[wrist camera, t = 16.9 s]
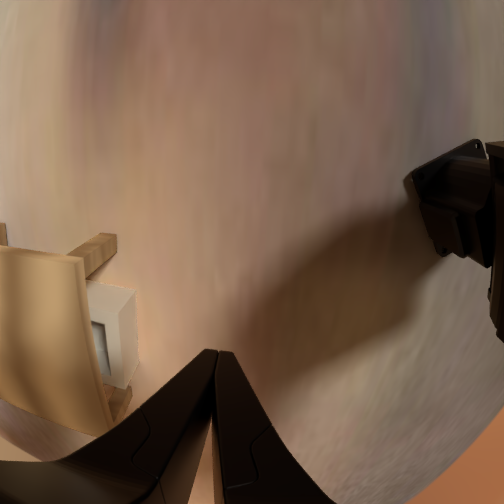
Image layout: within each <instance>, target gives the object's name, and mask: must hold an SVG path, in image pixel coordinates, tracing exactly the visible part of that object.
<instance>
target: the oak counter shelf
mask: <svg viewBox="0 0 504 504" xmlns="http://www.w3.org/2000/svg"><path fill="white" fill-rule="evenodd" d="M116 252H117V237H116V234H107V233H100V234H98V235H97V236H95V237H93V238H92V239H90V240H89V241H87V242H85V243H84V244H82V245H81V246H79V247H78V248H76V249H75V250H73V251H71V252H70V253H68V254H67V255H60V254H54V253H47V252H40V251H34V250H27V249H21V248H14V247H8V246H7V238H6V228H5V223H0V398H1V399H2V400H4V401H6V402H9V403H11V404H13V405H15V406H17V407H19V408H21V409H23V410H26V411H28V412H30V413H32V414H35V415H37V416H39V417H42V418H44V419H47V420H49V421H52V422H54V423H57V424H60V425H62V426H65V427H68V428H70V429H73V430H76V431H79V432H82V433H85V434H88V435H91V436H94V437H100V436H101V435H103V434H104V433H106V432H107V431H109V430H110V429H112V428H113V427H115V426H116V425H118V424H119V423H120V422H121V421H122V419H123V416H124V414H125V412H126V410H127V407H128V405H129V403H130V400H131V398H132V390H131V386H127V388H126V390H125V389H121V388H117V387H116V388H115V390H114V392H113V394H112V396H111V398H110V400H109V402H108V401H107V398H106V394H105V390H104V385H103V381H102V377H101V372H100V368H99V363H98V358H97V353H96V348H95V343H94V337H93V332H92V326H91V319H90V313H89V305H88V298H87V290H86V281H85V278H87V277H88V276H89V275H90V274H91V273H92V272H93V271H95V270H96V269H97V268H98V267H99V266H101V265H102V264H103V263H104V262H105V261H107V260H108V259H109V258H110V257H111V256H113V255H114V254H115V253H116Z"/></svg>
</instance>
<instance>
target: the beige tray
mask: <svg viewBox="0 0 504 504" xmlns="http://www.w3.org/2000/svg"><path fill="white" fill-rule="evenodd" d="M85 281H86V290H87V298H88V305H89V313H90V319H91V326H92V332H93V337H94V343H95V348H96V353H97V358H98V363H99V368H100V372H101V377H102V381H103V384H107V385H110V386H114V387H117V388H121V389H125V390H126V388H127V386H128V384H129V382H130V380H131V378H132V376H133V374H134V372H135V370H136V368H137V366H138V363H139V349H138V328H137V289H131V288H126V287H121V286H116V285H111V284H106V283H101V282H96V281H91V280H86V279H85Z"/></svg>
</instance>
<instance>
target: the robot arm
mask: <svg viewBox="0 0 504 504" xmlns="http://www.w3.org/2000/svg"><path fill="white" fill-rule="evenodd" d="M476 144H477V148H476V147H475V145H476ZM485 146H486V153H487V154H488V156H489V160H488V159H487V157H486V154H485V151H484V148H483V145H482V142H481V141H480V140H479V139H472V140H470V141H468V142H466V143H464V144H462V145H460V146H458V147H456V148H454V149H453V150H451V151H449V152H447V153H445V154H443V155H441V156H439V157H437V158H435V159H433V160H431V161H429V162H428V163H426V164H424V165H422V166H420V167H418V168H416V169H415V170H414V171H413V172H412V179H413V182H414V184H415V187H416V190H417V193H418V195H419V198H420V201H421V202H420V205H419V207H420V210H421V213H422V216H423V219H424V222H425V225H426V228H427V231H428V235H429V238H430V239H432V240H433V242H434V245H435V249H436V252H437V254H439V255H440V256H441V257H445V256H447V255H449V254H450V253H452V252H453V253H454V254H456V255H457V256H459V257H461V258H466V257H467V256H468V257H470V258H471V259H473V260H474V261H476V262H477V263H479V264H480V265H482V266H483V267H485V268H489V267H491V266H492V268H491V281H490V288H489V289H488V300H489V302H490V317H491V320H492V322H493V324H494V326H495V328H496V329H497V331H496V336H497V337H498V338H499V339H500V340H501V341H502V342H503V343H504V141H498V142H488V143H485ZM419 173H421V175H422V177H421V179H420V180H419V179H418V174H419ZM443 247H444V250H443V251H442V248H443ZM211 417H212V455H213V481H214V502H215V504H337V503H335V502H334V501H333V500H331V499H330V498H329V497H328V496H327V495H326V494H325V493H324V492H323V491H322V490H321V489H320V488H319V486H318V485H317V484H316V483H315V482H314V481H313V480H312V478H311V477H310V476H309V475H308V474H307V473H306V471H305V470H304V469H303V468H302V467H301V466H300V464H299V463H298V462H297V461H296V459H295V458H294V457H293V456H292V454H291V453H290V452H289V450H288V449H287V448H286V446H285V444H284V443H283V441H282V440H281V438H280V437H279V435H278V433H277V432H276V430H275V428H274V426H272V423H271V421H270V420H269V418H268V416H267V414H266V412H265V411H264V409H263V407H262V405H261V403H260V402H259V400H258V398H257V396H256V394H255V393H254V391H253V389H252V387H251V385H250V383H249V381H248V380H247V378H246V376H245V374H244V372H243V370H242V368H241V366H240V364H239V363H238V361H237V359H236V357H235V355H234V353H233V352H230V351H219V353H218V351H217V350H213V349H204V350H203V351H202V352H200V353H199V354H198V355H197V356H196V357H195V358H194V359H193V360H192V361H191V362H189V363H188V364H187V365H186V366H185V367H184V368H183V369H182V370H181V371H179V372H178V373H177V374H176V375H175V376H174V377H173V378H172V379H170V380H169V381H168V382H167V383H166V384H165V385H164V386H163V387H161V388H160V389H159V390H158V391H157V392H156V393H155V394H154V395H152V396H151V397H150V398H149V399H148V400H147V401H146V402H144V403H143V404H142V405H141V406H140V408H137V409H136V410H135V411H134V412H133V413H131V414H130V415H129V416H128V417H127V418H125V419H124V420H123V421H122V422H120V423H119V424H118V425H116V426H115V427H113V428H112V429H110V430H109V431H107V432H106V433H104V434H103V435H101V436H100V437H98V438H97V439H95V440H93V441H92V442H90V443H88V444H87V445H85V446H83V447H82V448H80V449H79V450H77V451H75V452H74V453H72V454H70V455H68V456H66V457H64V458H61V459H59V460H55V461H50V462H22V461H2V460H0V504H188V501H189V497H190V494H191V490H192V486H193V483H194V479H195V476H196V472H197V469H198V465H199V462H200V458H201V455H202V451H203V448H204V444H205V440H206V437H207V433H208V430H209V426H210V422H211Z"/></svg>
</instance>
